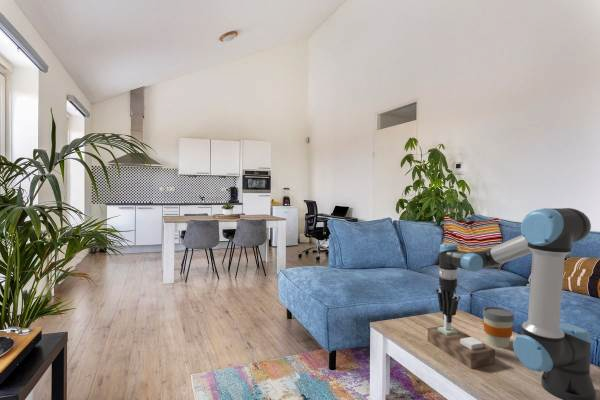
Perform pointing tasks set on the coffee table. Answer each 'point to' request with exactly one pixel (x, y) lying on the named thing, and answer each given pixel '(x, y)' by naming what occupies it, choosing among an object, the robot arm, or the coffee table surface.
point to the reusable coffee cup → (498, 326)
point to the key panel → (461, 348)
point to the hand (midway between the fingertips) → (447, 328)
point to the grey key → (471, 343)
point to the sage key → (447, 331)
